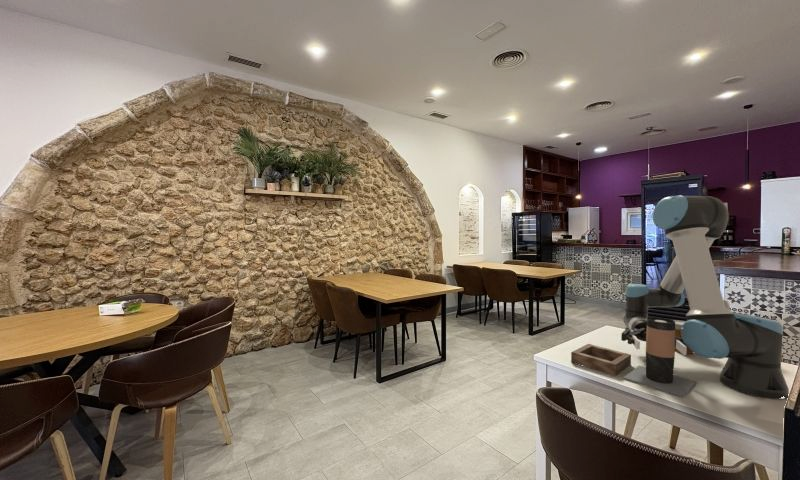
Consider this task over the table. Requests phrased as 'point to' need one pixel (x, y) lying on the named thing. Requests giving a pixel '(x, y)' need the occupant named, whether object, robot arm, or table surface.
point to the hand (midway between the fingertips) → (661, 348)
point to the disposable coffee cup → (678, 333)
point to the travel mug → (660, 349)
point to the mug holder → (601, 359)
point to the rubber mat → (677, 387)
